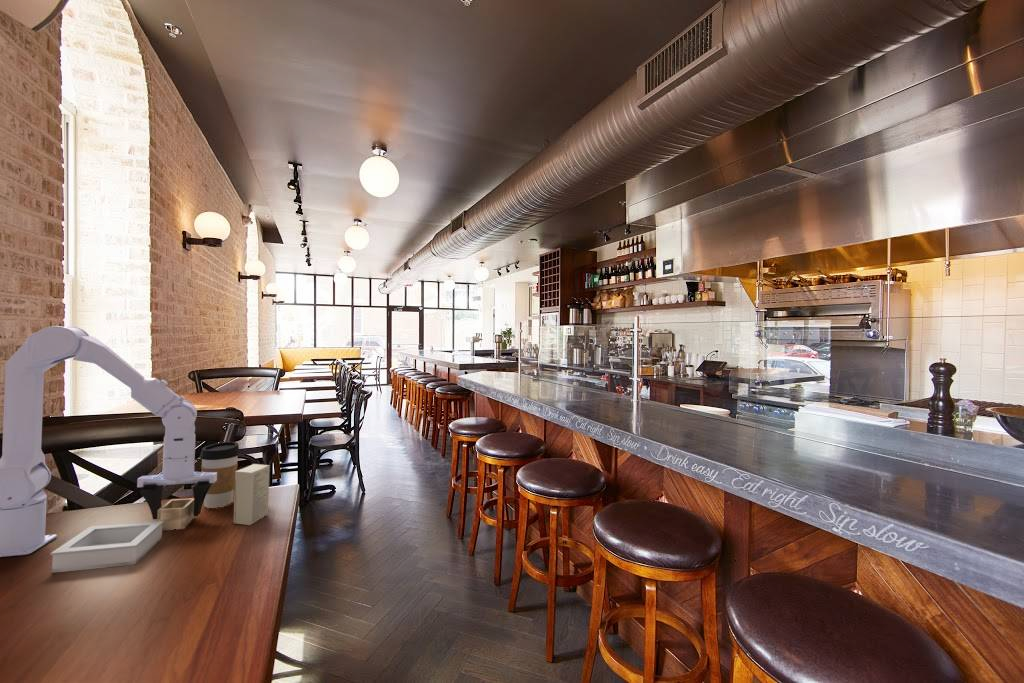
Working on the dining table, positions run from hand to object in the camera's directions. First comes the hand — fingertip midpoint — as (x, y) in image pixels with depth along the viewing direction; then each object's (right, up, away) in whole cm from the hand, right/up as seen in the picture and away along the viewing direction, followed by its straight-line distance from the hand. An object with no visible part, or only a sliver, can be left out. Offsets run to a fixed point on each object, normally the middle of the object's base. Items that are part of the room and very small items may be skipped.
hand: (177, 516), depth 99 cm
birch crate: (0, -2, 0) cm, 2 cm away
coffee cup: (+1, -2, +12) cm, 12 cm away
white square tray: (-2, -2, -14) cm, 14 cm away
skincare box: (+14, -3, +4) cm, 15 cm away
